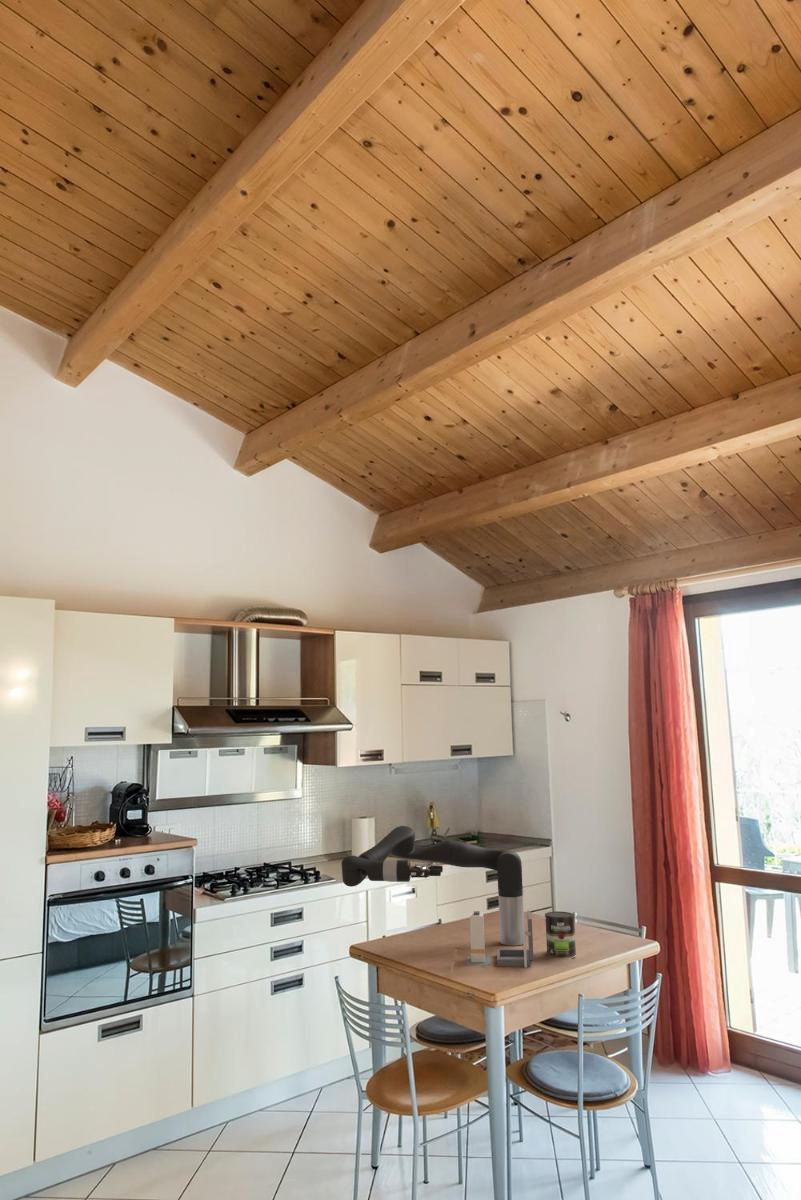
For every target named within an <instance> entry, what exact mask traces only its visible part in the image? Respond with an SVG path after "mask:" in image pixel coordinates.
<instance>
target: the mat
mask: <svg viewBox="0 0 801 1200" xmlns="http://www.w3.org/2000/svg"><path fill="white" fill-rule="evenodd" d="M465 965H466V966H490V965H491V955H485V962H471V955H467V956H466V961H465Z"/></svg>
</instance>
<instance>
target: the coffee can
mask: <svg viewBox="0 0 801 1200" xmlns="http://www.w3.org/2000/svg"><path fill="white" fill-rule="evenodd" d="M544 917H545V936H546V937H545V938H546V939H545V940H546V954H547V955H548V956H552V957H559V958H561V957H562V958H567V957H568V958H571V959H572V958H573V957H575V956H576V957H577V954H576V953H577V951H576V948H577V947H576V930H575V929H576V928H575V914H574V913H573V912H572V913H571V912H568V911H549V912H546V913H544ZM576 957H575V958H576ZM573 959H574V958H573Z"/></svg>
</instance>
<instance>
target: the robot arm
mask: <svg viewBox="0 0 801 1200" xmlns="http://www.w3.org/2000/svg"><path fill="white" fill-rule="evenodd" d="M415 839H416V833H415V830H414V829H413V828H412V827H410V826H406V825H399V826H397V827H395V828H393V829H392V830H391V831H390V832H389V833H388V834H387V835H386V836H384V837H383V838H382V839H381V840H380V841H379V842H378V843H376V844H375V845H374V846H373V847H371V848H369V849H367V850H366V851H364V852H361V853H360V854H359V855H358V856H357V855H347V856H345V857H344V858H343V859H342V860H341V875H342V882H343V884H344V885H345V886H347V887H351V888H352V887H357V886H358V885H360V884H361V883H362V882H363V881H364V880H365V879H366V878H368V880H369V881H371V882H390V883H409V882H410V881H411V878H412V879H414V878H422V879H423V878H425V879H427V878H430V877H440V876H441V875H442V873H443V871H444V870H443V865H448V866H449V865H450V866H453V867H457V868H482V869H483V868H484V869H488V870H493V871H496V872H497V873H496V874H497V892H498V893H497V894H498V912H499V913H498V914H499V940H500V941H499V942H500V944H501V945H504V946H513V947H515V946H522V945H524V942H523V932H525V912H524V889H523V887H524V886H523V868H522V867H523V866H522V859H521V857H520V856H519V853H517V852H515V851H513V850H507V849H505V850H503V849H495V848H494V849H493V848H492V849H491V848H485V847H483V846H478V845H474V844H472V843H466V842H463V841H457V840H451V839H448V840H444V841H440V842H437V843H435V844H433V845H430V846H427V847H426V846H425V847H424V846H422V847H421V846H415ZM390 854H391V855H392V856H394V857H397V858H401V859H389V860H387V858H388V857H389V855H390ZM410 860H418V861H419V860H420V861H428V862H433V863H439V864H442V865H432V864H430V863H427V864H425V863H423V864H422V863H421V864H418V863H417V864H414V865H413V866H412V865H411V861H410Z"/></svg>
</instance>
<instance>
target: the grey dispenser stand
mask: <svg viewBox="0 0 801 1200" xmlns="http://www.w3.org/2000/svg"><path fill="white" fill-rule="evenodd" d="M526 916H527V917H526V918H527V919H526V920H527V931H524V932H523V942H524V944H523V949H520V948H519V949H515V948H510V949H509V948H507V949H506V948H505V949H503V948H501V949H500V948H497V949H496V967H524V968H525V969H527V968H528V967H529V968H530V967H531V961H534V960H535V959H534V942H533V941H534V937H533V917H532V911H531V910H526ZM526 938H527V939H526ZM527 941H528V949H527Z"/></svg>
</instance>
